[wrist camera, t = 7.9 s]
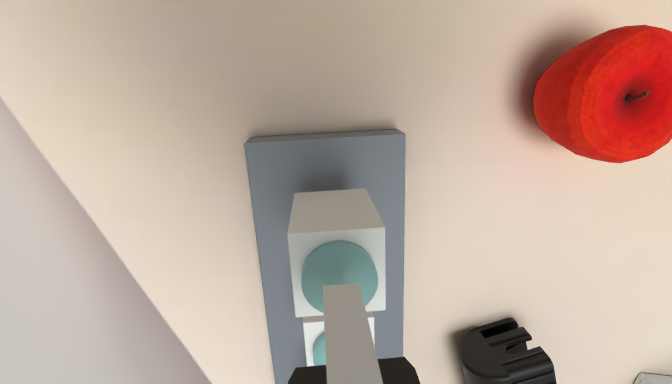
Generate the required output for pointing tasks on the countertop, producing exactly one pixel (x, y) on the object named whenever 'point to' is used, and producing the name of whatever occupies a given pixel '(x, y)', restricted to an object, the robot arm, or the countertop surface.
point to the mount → (324, 175)
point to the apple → (610, 95)
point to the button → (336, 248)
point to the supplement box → (653, 379)
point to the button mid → (321, 338)
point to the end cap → (503, 356)
